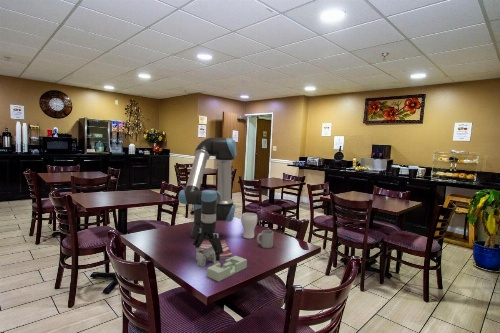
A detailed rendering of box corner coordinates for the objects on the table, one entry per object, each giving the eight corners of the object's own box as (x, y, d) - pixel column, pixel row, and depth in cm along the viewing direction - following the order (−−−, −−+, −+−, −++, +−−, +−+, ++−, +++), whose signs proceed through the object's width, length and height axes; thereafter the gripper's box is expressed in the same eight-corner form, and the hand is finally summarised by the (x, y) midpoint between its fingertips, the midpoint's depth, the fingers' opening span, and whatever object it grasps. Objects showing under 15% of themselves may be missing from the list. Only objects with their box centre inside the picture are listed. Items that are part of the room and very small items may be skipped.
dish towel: (225, 243, 175) (225, 239, 174) (232, 258, 152) (233, 253, 152) (197, 245, 170) (197, 240, 170) (201, 260, 148) (201, 255, 147)
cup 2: (273, 248, 168) (274, 233, 167) (256, 247, 168) (257, 233, 167) (272, 244, 175) (273, 230, 174) (256, 243, 175) (257, 229, 174)
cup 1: (259, 237, 186) (260, 215, 185) (246, 240, 180) (247, 217, 179) (250, 233, 195) (251, 211, 194) (237, 235, 189) (238, 213, 188)
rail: (218, 281, 124) (218, 272, 124) (206, 276, 129) (207, 267, 129) (246, 267, 140) (246, 259, 140) (235, 263, 145) (235, 255, 144)
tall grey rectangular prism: (202, 267, 138) (202, 253, 138) (197, 265, 140) (197, 251, 140) (216, 261, 146) (217, 248, 145) (211, 259, 148) (212, 246, 148)
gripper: (186, 218, 146) (185, 258, 148) (220, 227, 131) (219, 272, 133) (197, 215, 152) (196, 254, 153) (231, 224, 137) (229, 267, 139)
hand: (207, 263), depth 143 cm, fingers open, 12 cm apart
